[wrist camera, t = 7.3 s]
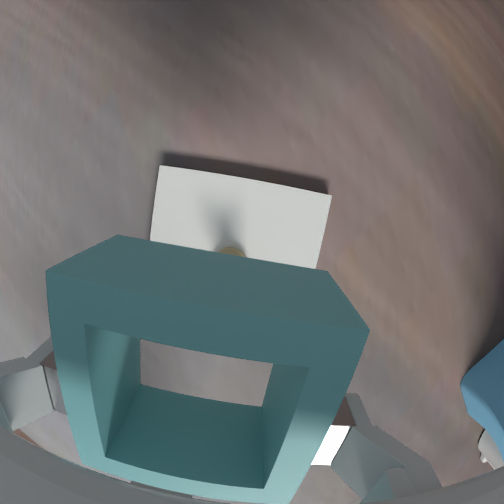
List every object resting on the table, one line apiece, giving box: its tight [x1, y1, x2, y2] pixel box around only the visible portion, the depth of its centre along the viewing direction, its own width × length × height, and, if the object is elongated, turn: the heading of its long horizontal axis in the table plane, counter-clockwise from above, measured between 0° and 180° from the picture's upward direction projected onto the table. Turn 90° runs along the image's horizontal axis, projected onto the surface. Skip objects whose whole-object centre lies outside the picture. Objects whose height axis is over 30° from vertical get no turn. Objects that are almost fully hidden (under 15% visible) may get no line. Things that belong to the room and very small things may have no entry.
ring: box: [46, 235, 370, 504], centre depth 8 cm, size 7×7×4 cm
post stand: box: [150, 165, 332, 269], centre depth 20 cm, size 12×12×5 cm
